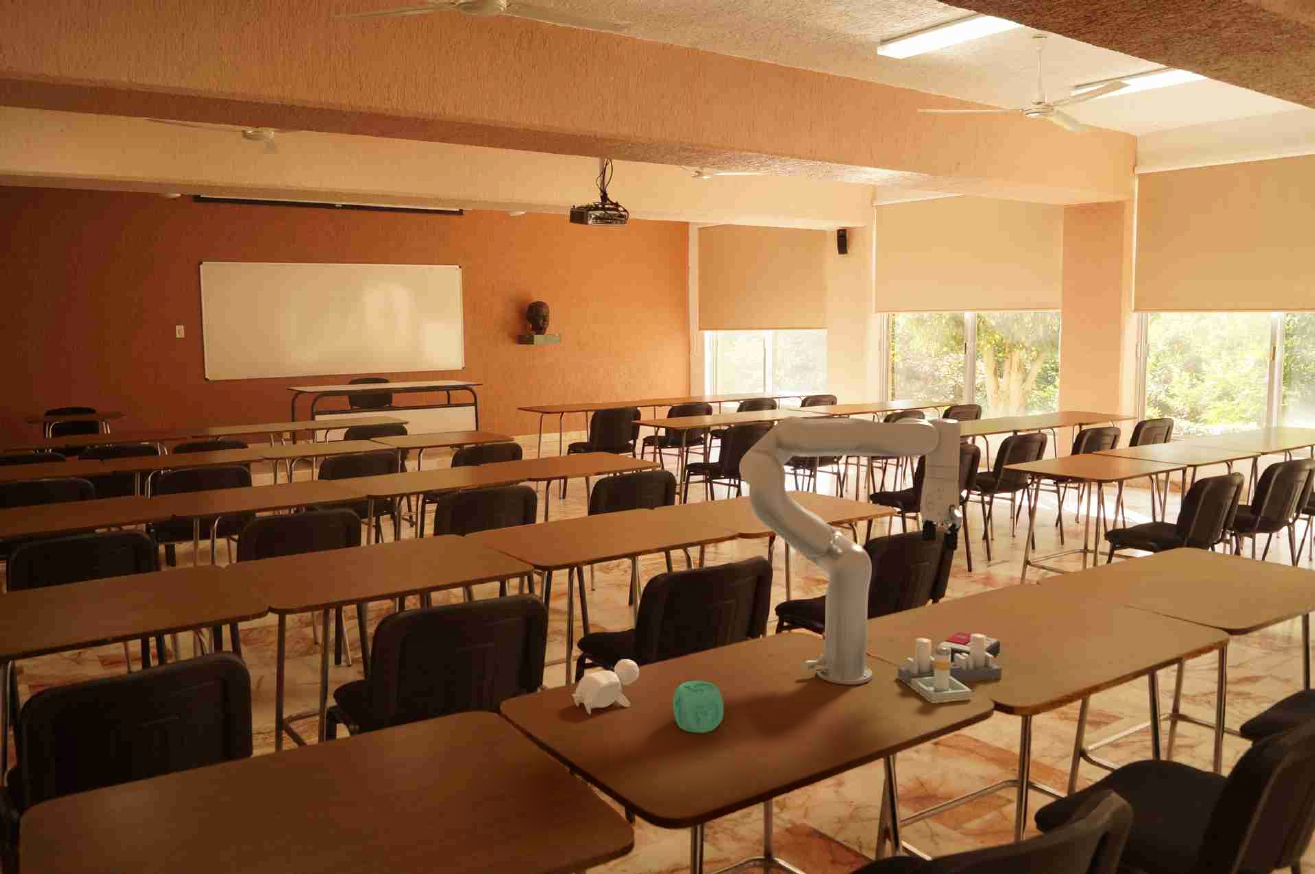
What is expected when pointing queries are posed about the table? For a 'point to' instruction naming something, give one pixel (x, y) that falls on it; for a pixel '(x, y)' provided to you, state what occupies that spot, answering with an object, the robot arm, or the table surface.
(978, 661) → the holder
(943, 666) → the fuse
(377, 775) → the table surface
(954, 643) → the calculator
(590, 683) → the white animal figurine
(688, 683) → the decorative dice
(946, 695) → the tray
